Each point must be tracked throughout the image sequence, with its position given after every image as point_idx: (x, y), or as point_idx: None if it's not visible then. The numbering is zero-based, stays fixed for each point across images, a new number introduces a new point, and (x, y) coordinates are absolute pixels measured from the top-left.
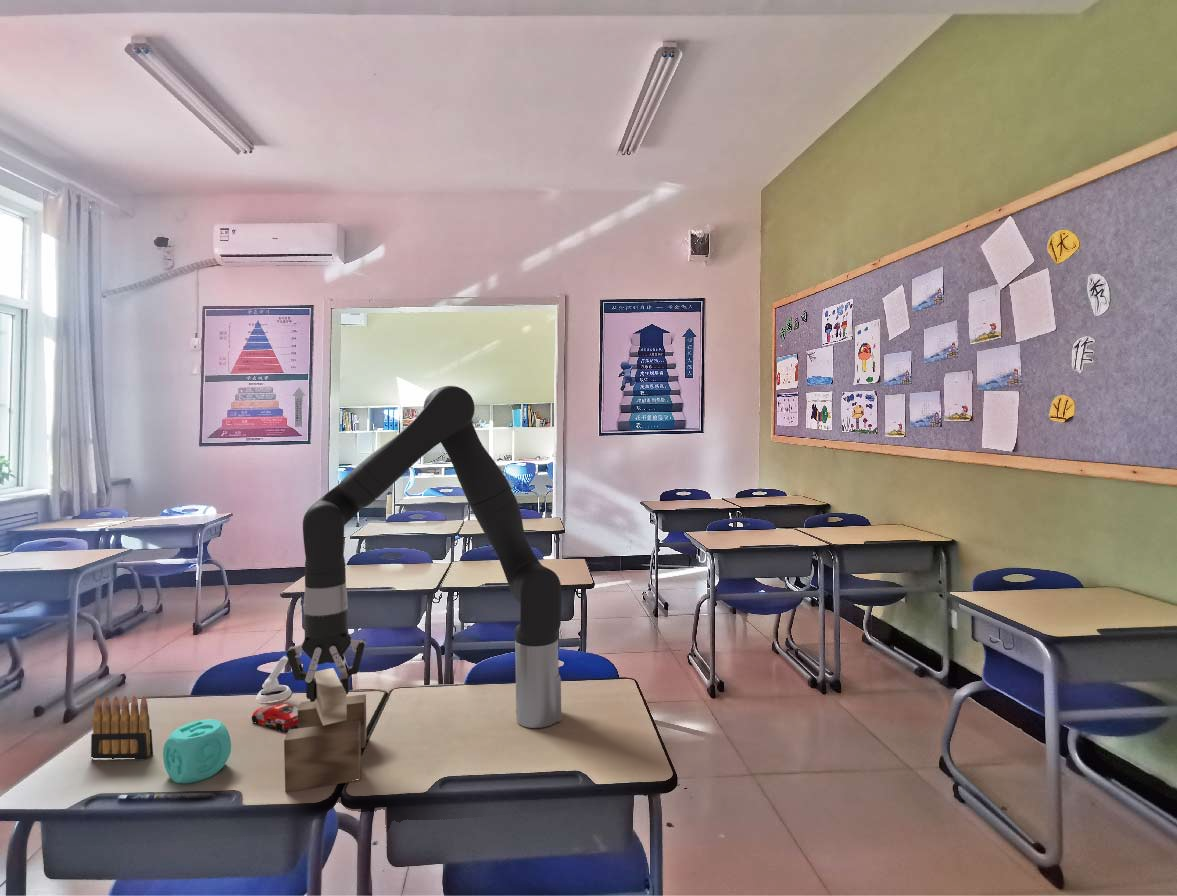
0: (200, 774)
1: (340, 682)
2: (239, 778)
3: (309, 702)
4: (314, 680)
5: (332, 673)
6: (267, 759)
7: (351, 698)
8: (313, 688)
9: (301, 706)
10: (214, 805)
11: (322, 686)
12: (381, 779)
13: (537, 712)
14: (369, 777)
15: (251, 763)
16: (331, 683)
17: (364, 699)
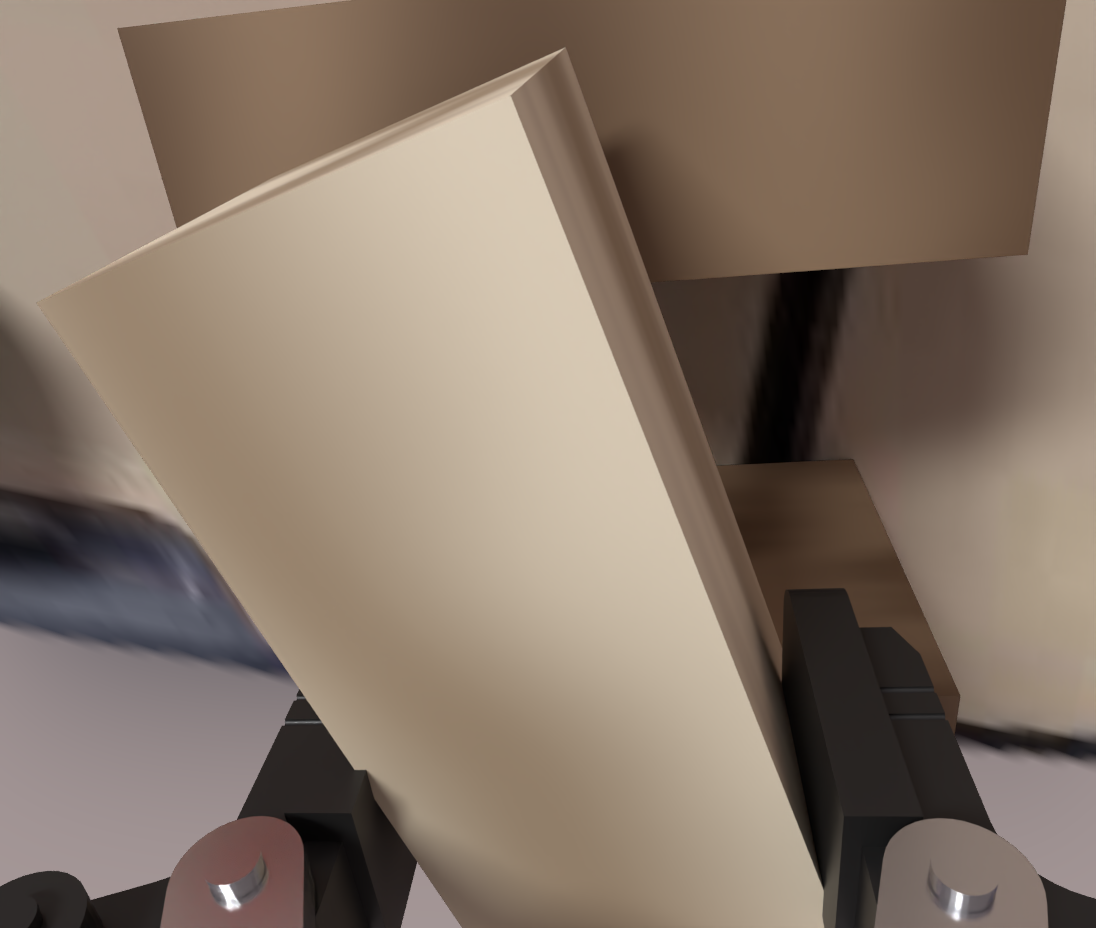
0: None
1: (825, 916)
2: (93, 396)
3: (244, 77)
4: (369, 887)
5: (592, 499)
6: (137, 176)
7: (841, 56)
8: (409, 862)
9: (194, 200)
10: (127, 620)
11: None
12: (980, 596)
13: None
14: (907, 561)
15: (51, 213)
16: (676, 912)
17: (1040, 148)
